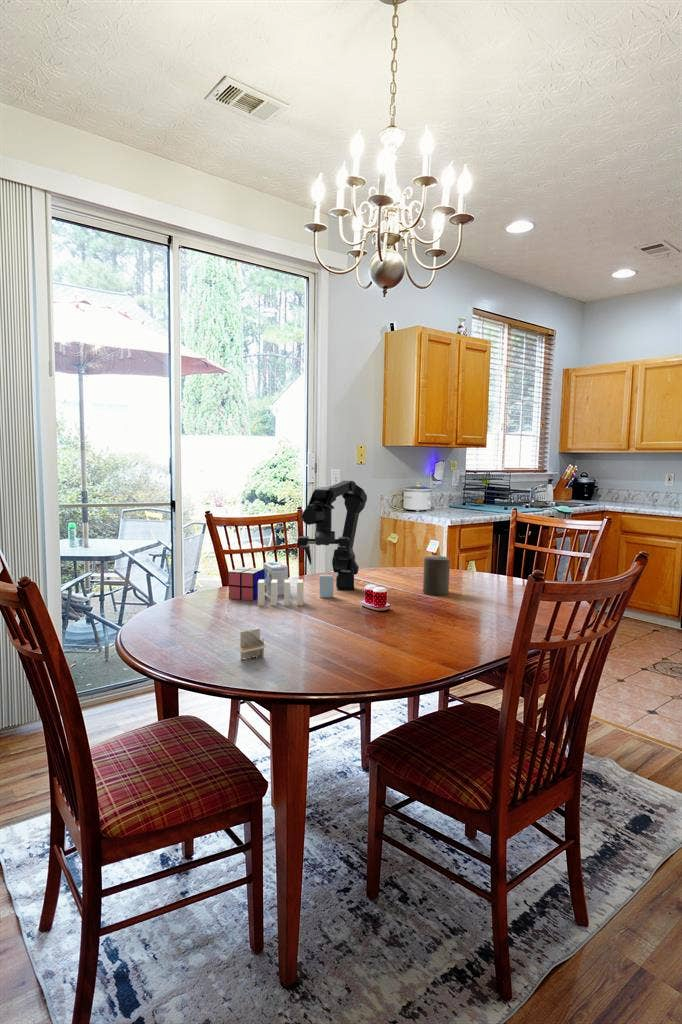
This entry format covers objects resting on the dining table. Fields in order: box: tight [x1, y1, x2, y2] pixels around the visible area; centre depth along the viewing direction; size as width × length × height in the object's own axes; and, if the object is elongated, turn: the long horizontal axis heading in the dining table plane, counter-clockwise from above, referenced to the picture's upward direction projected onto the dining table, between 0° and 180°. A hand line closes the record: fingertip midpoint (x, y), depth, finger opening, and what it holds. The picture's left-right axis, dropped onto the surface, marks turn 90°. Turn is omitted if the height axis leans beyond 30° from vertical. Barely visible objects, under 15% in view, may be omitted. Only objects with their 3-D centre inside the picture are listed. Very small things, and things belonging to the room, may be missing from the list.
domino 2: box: [270, 580, 279, 606], centre depth 204 cm, size 2×5×8 cm, turn 3°
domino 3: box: [283, 579, 291, 606], centre depth 204 cm, size 2×5×8 cm, turn 3°
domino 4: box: [296, 578, 304, 606], centre depth 204 cm, size 2×5×8 cm, turn 3°
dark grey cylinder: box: [422, 554, 451, 597], centre depth 222 cm, size 10×10×15 cm
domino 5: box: [319, 574, 335, 598], centre depth 214 cm, size 2×5×8 cm, turn 93°
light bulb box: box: [262, 561, 289, 596], centre depth 220 cm, size 11×7×11 cm, turn 25°
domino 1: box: [257, 580, 266, 606], centre depth 203 cm, size 2×5×8 cm, turn 3°
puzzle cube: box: [228, 566, 265, 602], centre depth 213 cm, size 10×10×10 cm
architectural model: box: [236, 627, 267, 660], centre depth 147 cm, size 3×7×7 cm, turn 128°
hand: (323, 564), depth 212 cm, fingers open, 9 cm apart
